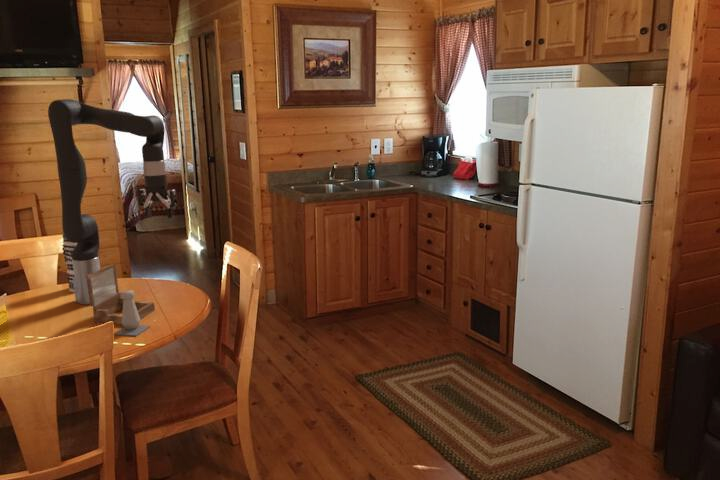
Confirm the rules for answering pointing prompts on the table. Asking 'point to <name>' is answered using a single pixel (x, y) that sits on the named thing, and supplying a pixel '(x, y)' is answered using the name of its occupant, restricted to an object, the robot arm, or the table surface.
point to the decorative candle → (69, 260)
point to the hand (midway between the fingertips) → (159, 217)
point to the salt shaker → (129, 310)
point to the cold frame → (110, 297)
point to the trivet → (132, 331)
